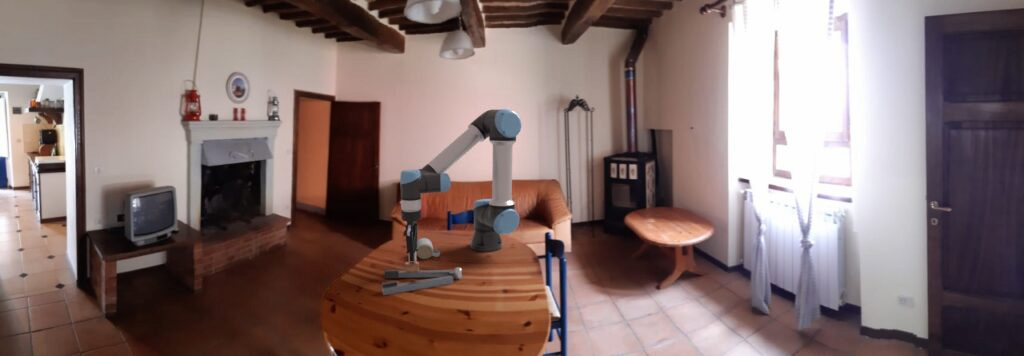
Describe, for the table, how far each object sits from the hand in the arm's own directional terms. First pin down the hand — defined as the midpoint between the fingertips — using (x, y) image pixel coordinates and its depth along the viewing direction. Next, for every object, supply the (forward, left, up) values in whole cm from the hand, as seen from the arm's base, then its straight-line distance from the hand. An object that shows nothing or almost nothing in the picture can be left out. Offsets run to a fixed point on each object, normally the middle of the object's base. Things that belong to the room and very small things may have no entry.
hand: (412, 267), depth 160 cm
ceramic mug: (-10, -17, -2) cm, 19 cm away
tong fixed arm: (+1, +15, -2) cm, 15 cm away
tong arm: (-3, +7, -2) cm, 8 cm away
